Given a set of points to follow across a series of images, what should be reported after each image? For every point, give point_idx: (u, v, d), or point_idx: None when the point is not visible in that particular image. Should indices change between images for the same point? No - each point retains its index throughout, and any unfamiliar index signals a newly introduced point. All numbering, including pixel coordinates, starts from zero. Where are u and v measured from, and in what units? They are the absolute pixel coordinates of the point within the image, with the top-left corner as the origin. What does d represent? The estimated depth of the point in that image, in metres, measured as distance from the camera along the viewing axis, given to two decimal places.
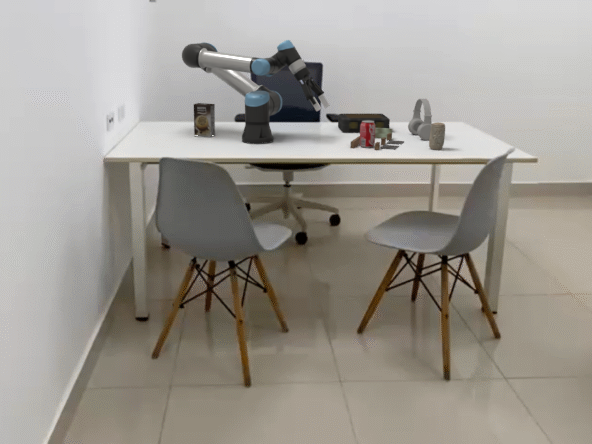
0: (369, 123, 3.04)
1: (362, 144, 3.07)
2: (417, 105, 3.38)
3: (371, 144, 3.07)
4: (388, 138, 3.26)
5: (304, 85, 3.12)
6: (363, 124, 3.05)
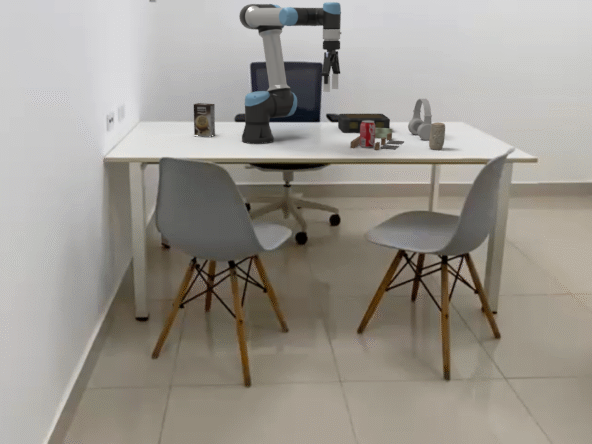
0: (369, 123, 3.04)
1: (362, 144, 3.07)
2: (417, 105, 3.38)
3: (371, 144, 3.07)
4: (388, 138, 3.26)
5: (327, 59, 2.80)
6: (363, 124, 3.05)
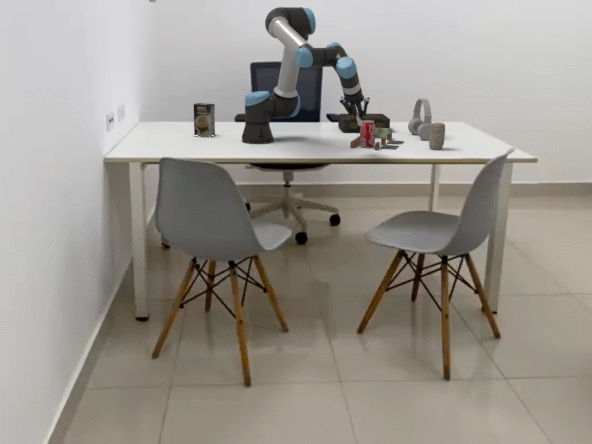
0: (369, 123, 3.04)
1: (362, 144, 3.07)
2: (417, 105, 3.38)
3: (371, 144, 3.07)
4: (388, 138, 3.26)
5: None
6: (363, 124, 3.05)
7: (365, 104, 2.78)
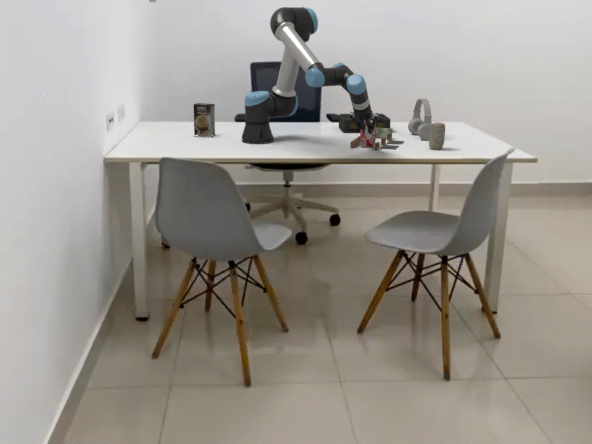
0: None
1: (363, 144, 3.08)
2: (417, 105, 3.38)
3: (372, 144, 3.07)
4: (388, 138, 3.26)
5: None
6: None
7: (374, 119, 2.90)
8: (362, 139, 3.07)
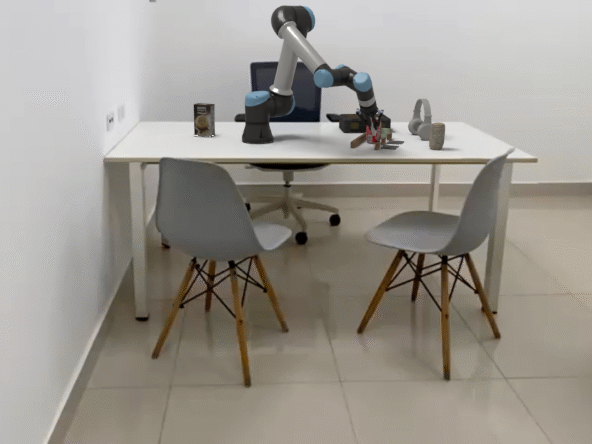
0: None
1: (369, 140, 3.17)
2: (417, 105, 3.38)
3: (377, 140, 3.17)
4: (388, 138, 3.26)
5: None
6: None
7: (379, 115, 2.99)
8: (368, 136, 3.17)
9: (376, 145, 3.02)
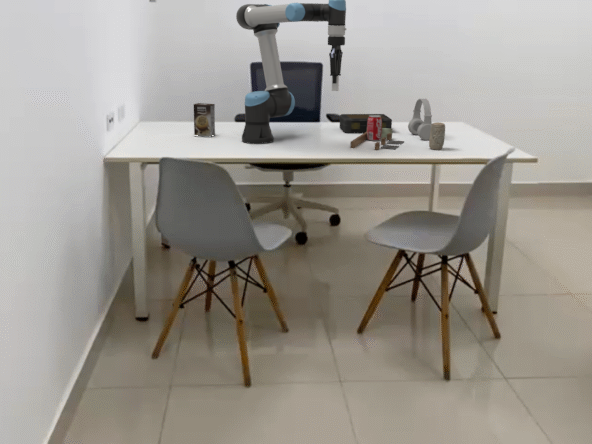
0: (376, 117, 3.21)
1: (370, 138, 3.24)
2: (417, 105, 3.38)
3: (378, 137, 3.23)
4: (388, 138, 3.26)
5: (333, 60, 2.88)
6: (370, 119, 3.21)
7: (341, 55, 2.96)
8: (369, 133, 3.23)
9: (376, 145, 3.02)
